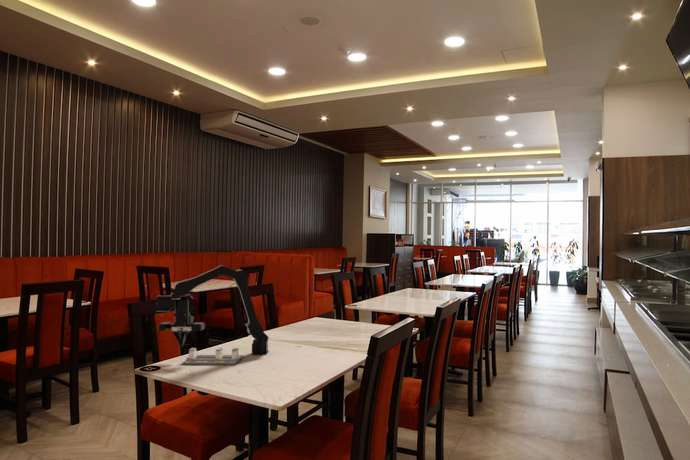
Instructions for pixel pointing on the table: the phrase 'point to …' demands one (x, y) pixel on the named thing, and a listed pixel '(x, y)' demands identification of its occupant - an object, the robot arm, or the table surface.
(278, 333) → the table surface
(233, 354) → the breaker
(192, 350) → the breaker
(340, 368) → the table surface
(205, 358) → the panel
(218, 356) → the breaker
